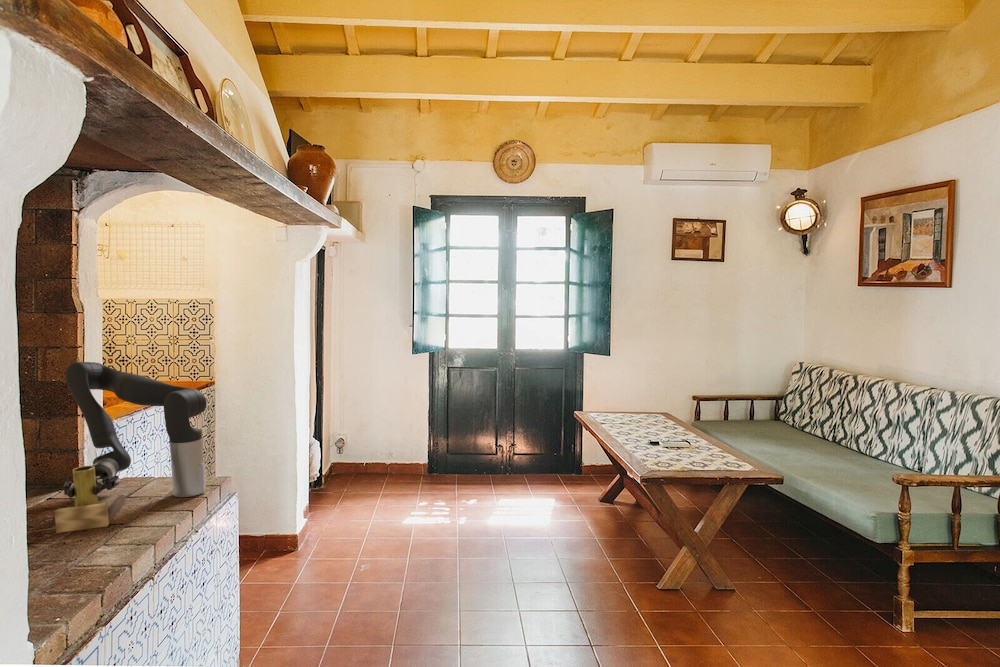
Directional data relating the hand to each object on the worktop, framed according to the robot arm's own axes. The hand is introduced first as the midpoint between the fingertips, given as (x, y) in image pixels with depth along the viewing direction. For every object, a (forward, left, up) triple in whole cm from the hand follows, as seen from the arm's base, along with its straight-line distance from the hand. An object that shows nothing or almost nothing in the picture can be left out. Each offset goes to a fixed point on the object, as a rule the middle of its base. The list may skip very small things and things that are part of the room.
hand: (83, 492), depth 179 cm
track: (0, -7, -9) cm, 12 cm away
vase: (0, -3, -8) cm, 9 cm away
